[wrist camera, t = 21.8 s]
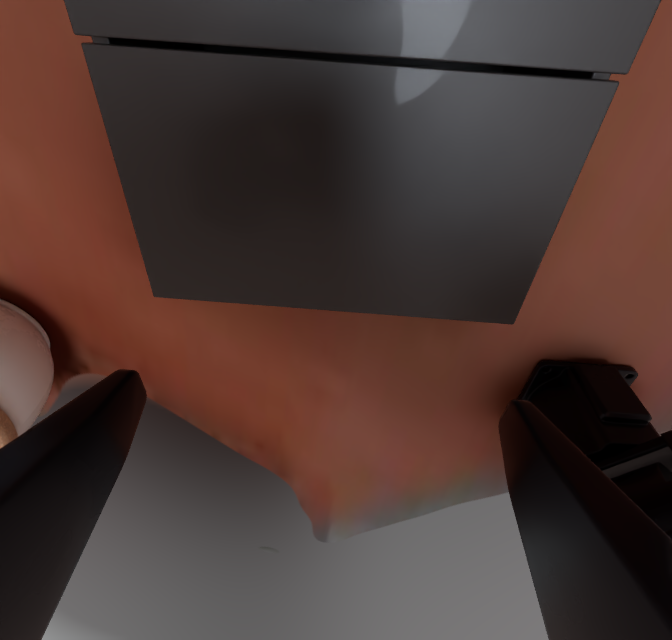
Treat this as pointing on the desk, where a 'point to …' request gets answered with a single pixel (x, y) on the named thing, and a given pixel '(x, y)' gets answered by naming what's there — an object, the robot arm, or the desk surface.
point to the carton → (388, 31)
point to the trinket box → (22, 371)
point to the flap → (343, 177)
